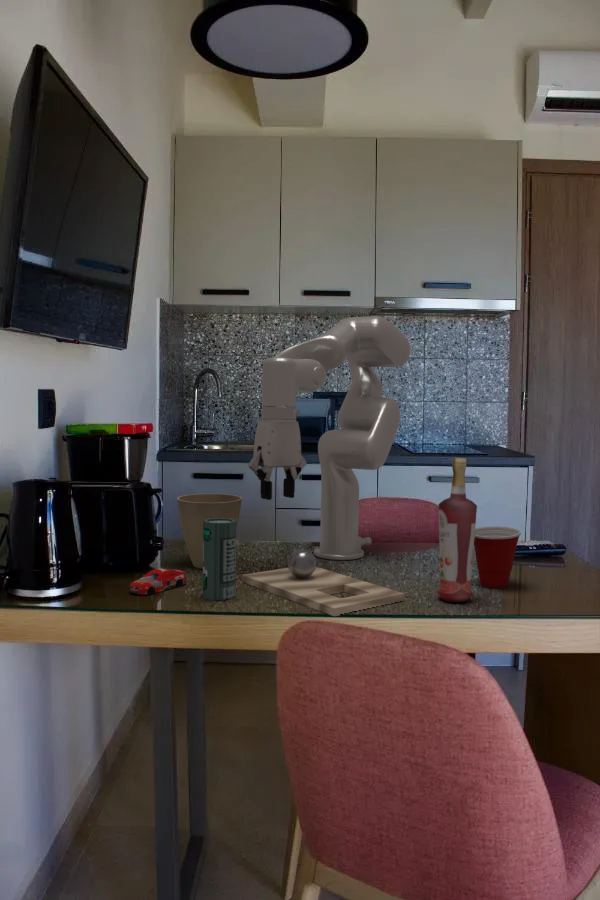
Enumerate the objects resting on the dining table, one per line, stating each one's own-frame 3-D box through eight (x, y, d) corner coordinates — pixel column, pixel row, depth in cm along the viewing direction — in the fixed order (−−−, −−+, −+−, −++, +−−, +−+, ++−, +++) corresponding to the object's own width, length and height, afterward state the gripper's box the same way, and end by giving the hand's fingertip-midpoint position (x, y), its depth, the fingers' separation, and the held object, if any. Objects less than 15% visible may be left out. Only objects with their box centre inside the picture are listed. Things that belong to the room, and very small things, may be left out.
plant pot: (172, 560, 173) (172, 494, 172) (233, 557, 178) (233, 492, 177) (181, 574, 159) (182, 502, 158) (247, 571, 164) (248, 501, 162)
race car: (142, 599, 140) (142, 579, 140) (123, 594, 143) (123, 574, 143) (191, 585, 151) (191, 567, 150) (173, 581, 154) (173, 563, 154)
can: (216, 590, 146) (216, 517, 145) (240, 595, 143) (241, 520, 142) (197, 597, 141) (197, 521, 140) (222, 602, 138) (223, 524, 137)
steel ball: (304, 573, 156) (304, 545, 156) (321, 578, 152) (322, 550, 151) (281, 576, 153) (282, 548, 152) (299, 582, 148) (299, 553, 147)
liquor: (480, 604, 140) (485, 459, 138) (444, 605, 138) (449, 459, 137) (463, 594, 147) (468, 456, 145) (430, 595, 146) (434, 456, 144)
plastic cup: (456, 581, 158) (458, 526, 157) (497, 577, 162) (499, 524, 161) (487, 593, 148) (489, 535, 147) (530, 589, 152) (532, 532, 151)
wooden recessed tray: (242, 581, 154) (242, 574, 154) (308, 570, 165) (308, 564, 165) (334, 616, 130) (334, 608, 130) (404, 601, 141) (404, 593, 141)
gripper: (299, 414, 165) (298, 493, 166) (236, 414, 155) (235, 498, 156) (320, 415, 159) (318, 497, 160) (256, 415, 149) (254, 503, 150)
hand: (277, 497), depth 158 cm, fingers open, 5 cm apart
